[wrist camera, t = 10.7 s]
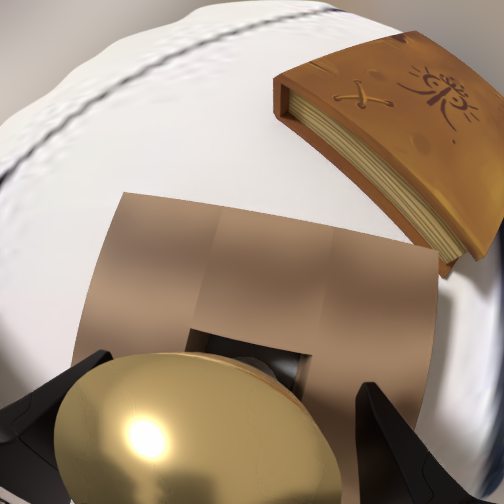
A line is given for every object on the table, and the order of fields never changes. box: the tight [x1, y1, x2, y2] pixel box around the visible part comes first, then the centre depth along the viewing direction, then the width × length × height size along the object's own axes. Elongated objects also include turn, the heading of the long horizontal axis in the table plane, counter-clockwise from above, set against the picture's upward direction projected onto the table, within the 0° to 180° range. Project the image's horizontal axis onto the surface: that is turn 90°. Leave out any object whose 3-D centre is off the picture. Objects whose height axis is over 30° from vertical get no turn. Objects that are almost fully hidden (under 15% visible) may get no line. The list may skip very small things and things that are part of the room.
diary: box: [273, 31, 504, 278], centre depth 19 cm, size 23×19×6 cm
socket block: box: [71, 192, 439, 504], centre depth 13 cm, size 18×18×4 cm
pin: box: [54, 352, 342, 504], centre depth 9 cm, size 5×5×13 cm
